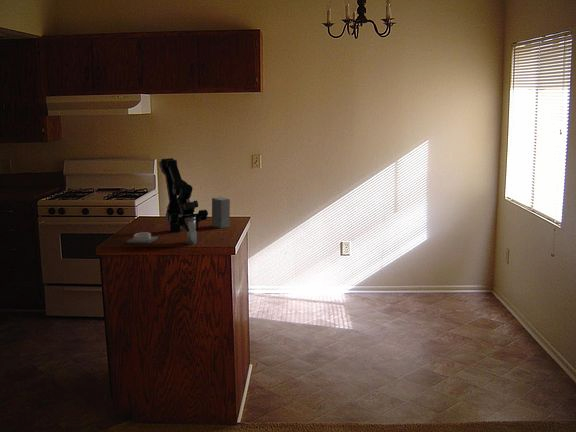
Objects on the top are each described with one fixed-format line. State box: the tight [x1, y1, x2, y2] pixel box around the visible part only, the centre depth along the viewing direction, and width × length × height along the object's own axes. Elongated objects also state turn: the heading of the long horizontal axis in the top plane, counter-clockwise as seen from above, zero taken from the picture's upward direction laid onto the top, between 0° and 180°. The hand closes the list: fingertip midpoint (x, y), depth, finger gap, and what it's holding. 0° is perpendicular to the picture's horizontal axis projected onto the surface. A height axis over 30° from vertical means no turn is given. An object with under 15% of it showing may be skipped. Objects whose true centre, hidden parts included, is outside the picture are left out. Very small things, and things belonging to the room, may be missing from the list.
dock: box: [126, 232, 159, 244], centre depth 320 cm, size 11×12×3 cm
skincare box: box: [211, 196, 231, 229], centre depth 345 cm, size 8×7×16 cm
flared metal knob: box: [185, 216, 198, 246], centre depth 309 cm, size 5×5×13 cm
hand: (192, 230), depth 308 cm, fingers closed on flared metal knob, 4 cm apart
